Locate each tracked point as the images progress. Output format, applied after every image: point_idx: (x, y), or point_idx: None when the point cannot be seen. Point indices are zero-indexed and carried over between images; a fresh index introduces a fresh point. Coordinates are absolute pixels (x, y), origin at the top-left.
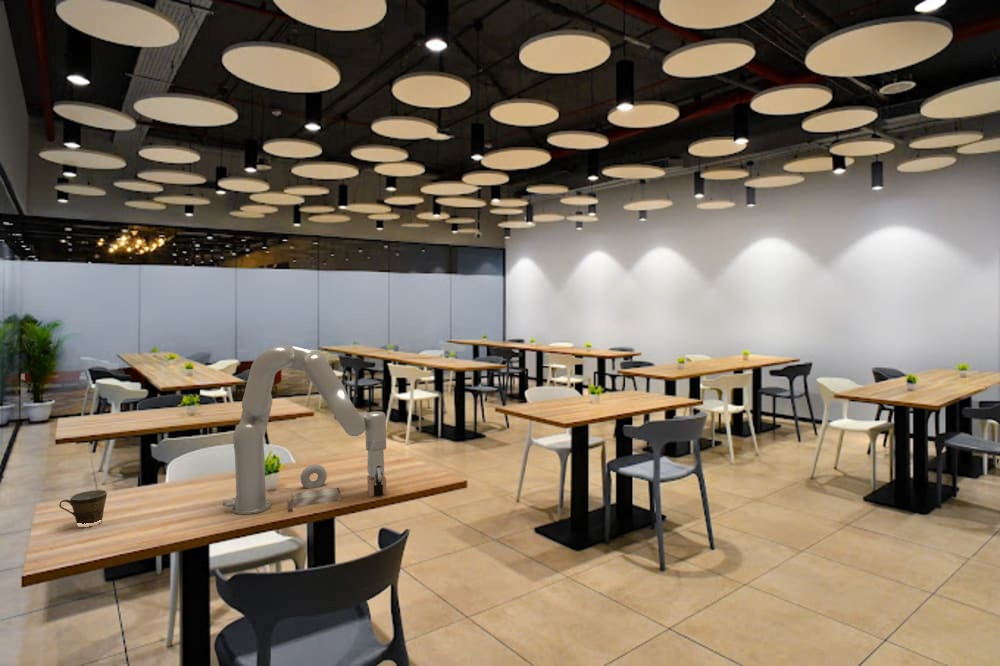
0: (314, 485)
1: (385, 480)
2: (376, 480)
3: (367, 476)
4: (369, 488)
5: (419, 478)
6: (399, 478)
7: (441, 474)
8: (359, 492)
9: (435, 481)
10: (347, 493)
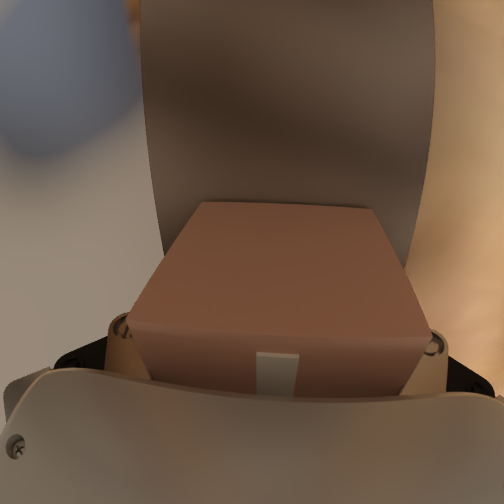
0: None
1: None
2: (62, 368)
3: (415, 333)
4: (218, 238)
5: None
6: (496, 387)
7: None
8: (469, 151)
9: None
10: (487, 54)
